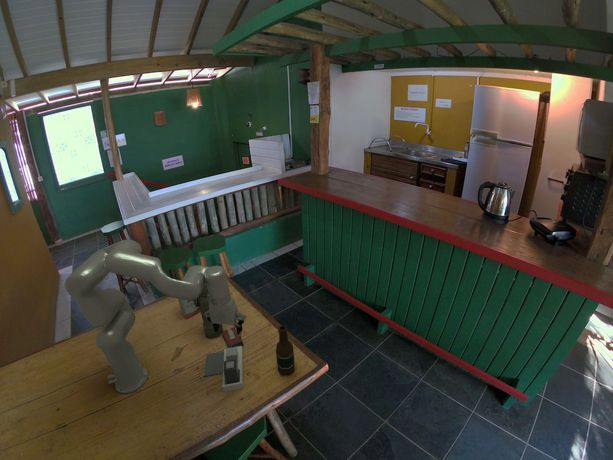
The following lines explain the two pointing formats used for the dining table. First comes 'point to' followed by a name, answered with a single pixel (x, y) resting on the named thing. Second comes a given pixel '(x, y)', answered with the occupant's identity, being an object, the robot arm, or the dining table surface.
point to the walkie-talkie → (232, 337)
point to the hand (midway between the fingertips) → (228, 330)
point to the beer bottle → (284, 353)
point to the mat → (214, 364)
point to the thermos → (204, 306)
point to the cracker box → (188, 308)
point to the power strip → (238, 355)
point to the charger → (231, 371)
